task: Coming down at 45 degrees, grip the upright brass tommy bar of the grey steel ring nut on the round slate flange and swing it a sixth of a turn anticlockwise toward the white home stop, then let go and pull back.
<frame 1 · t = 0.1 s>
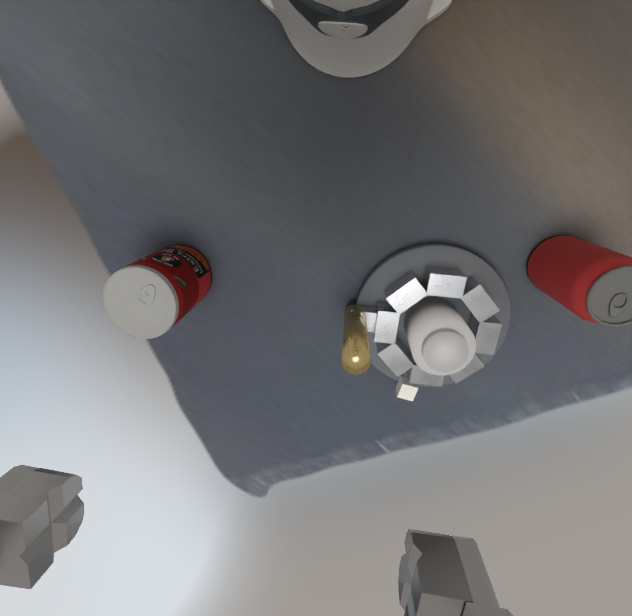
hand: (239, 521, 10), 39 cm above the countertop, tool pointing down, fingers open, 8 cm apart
canned food: (184, 273, 49), on the countertop
ring nut: (424, 342, 41), point 8 cm above the countertop, hinge at 0.0°
flange base: (428, 315, 48), on the countertop
beer can: (554, 262, 45), on the countertop
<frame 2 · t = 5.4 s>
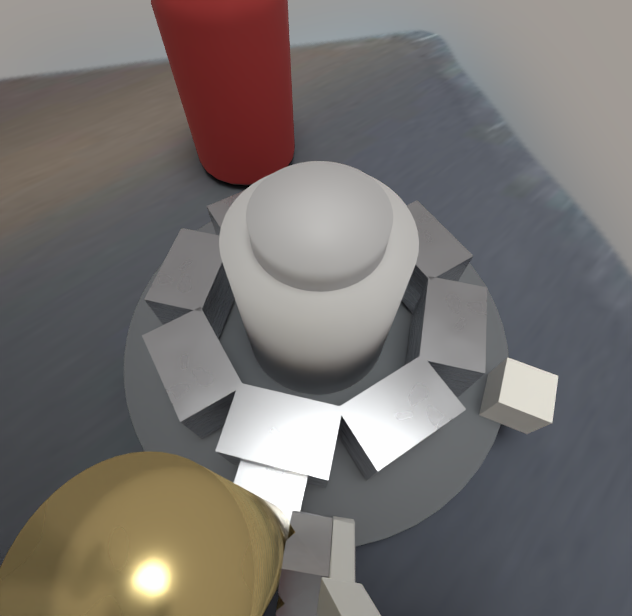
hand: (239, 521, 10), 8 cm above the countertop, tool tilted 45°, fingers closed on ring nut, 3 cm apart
ring nut: (306, 293, 12), point 8 cm above the countertop, hinge at 0.0°, touching gripper
flange base: (316, 345, 20), on the countertop
beer can: (248, 159, 28), on the countertop
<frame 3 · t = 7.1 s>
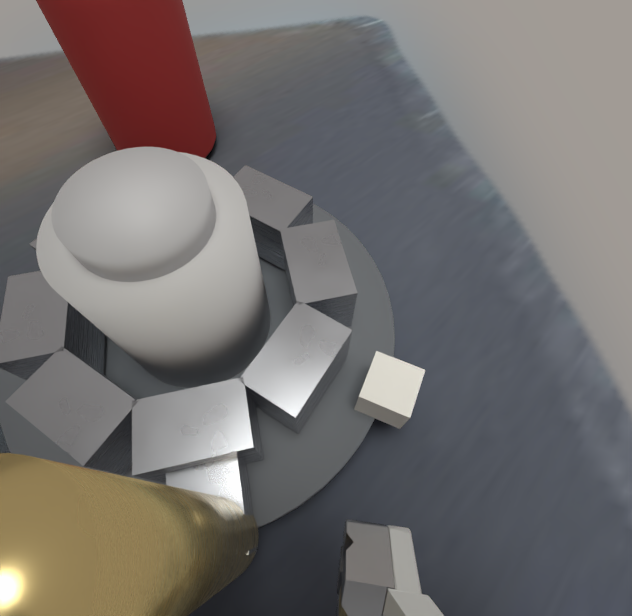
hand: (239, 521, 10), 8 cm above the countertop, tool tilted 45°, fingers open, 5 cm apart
ring nut: (156, 284, 12), point 8 cm above the countertop, hinge at 26.3°, touching gripper
flange base: (212, 338, 20), on the countertop
beer can: (171, 148, 27), on the countertop
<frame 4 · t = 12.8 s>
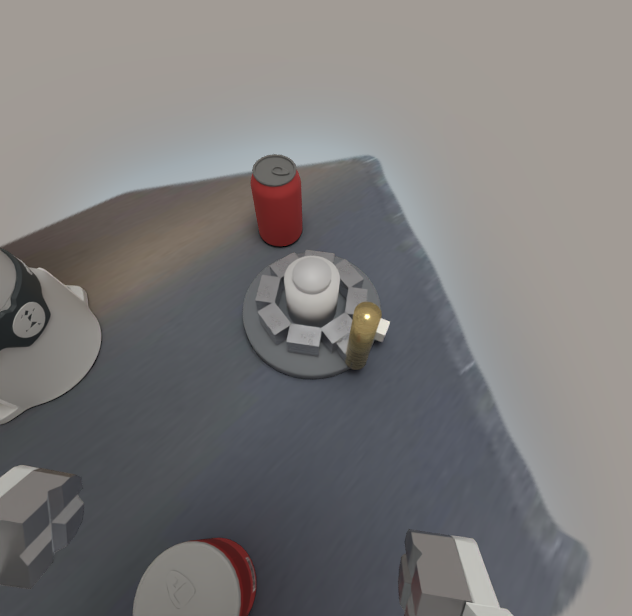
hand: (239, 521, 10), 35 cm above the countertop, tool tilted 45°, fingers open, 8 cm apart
canned food: (218, 583, 38), on the countertop
ring nut: (321, 292, 45), point 8 cm above the countertop, hinge at 49.2°
flange base: (311, 315, 52), on the countertop
beer can: (281, 232, 60), on the countertop
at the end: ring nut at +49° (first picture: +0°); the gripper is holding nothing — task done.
